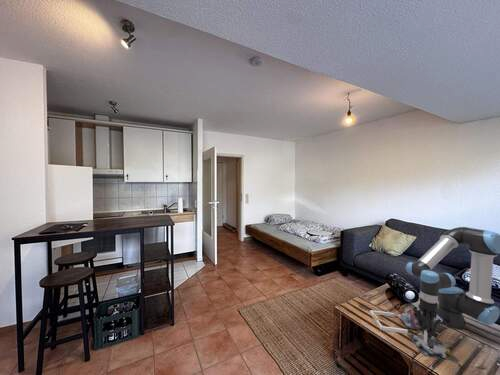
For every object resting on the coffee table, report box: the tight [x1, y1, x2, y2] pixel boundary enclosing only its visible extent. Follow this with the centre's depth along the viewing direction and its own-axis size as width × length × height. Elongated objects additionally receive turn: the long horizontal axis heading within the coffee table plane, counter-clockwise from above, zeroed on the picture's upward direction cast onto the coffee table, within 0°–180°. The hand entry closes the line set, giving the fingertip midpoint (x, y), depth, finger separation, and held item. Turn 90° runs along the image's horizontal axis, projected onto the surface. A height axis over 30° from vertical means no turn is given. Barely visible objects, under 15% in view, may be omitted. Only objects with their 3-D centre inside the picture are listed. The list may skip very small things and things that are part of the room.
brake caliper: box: [397, 308, 421, 330], centre depth 131 cm, size 11×11×12 cm
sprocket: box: [413, 332, 451, 358], centre depth 113 cm, size 15×15×6 cm
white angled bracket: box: [369, 309, 409, 335], centre depth 132 cm, size 15×17×4 cm
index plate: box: [406, 333, 460, 363], centre depth 113 cm, size 16×16×1 cm
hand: (426, 342), depth 111 cm, fingers closed
